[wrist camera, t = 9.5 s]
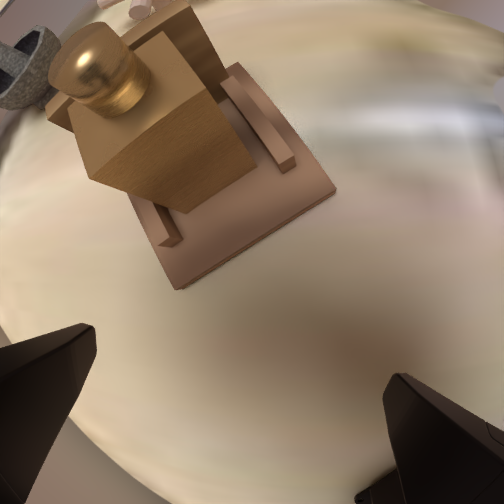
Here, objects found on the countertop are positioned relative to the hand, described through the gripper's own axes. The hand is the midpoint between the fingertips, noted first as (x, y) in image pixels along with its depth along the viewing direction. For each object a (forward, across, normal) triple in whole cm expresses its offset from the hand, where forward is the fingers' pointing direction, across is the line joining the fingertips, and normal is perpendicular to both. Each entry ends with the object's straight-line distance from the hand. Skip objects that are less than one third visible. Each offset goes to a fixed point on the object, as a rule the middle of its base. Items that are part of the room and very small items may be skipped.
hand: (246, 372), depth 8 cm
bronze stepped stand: (+14, +4, -5) cm, 16 cm away
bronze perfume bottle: (+13, +4, -5) cm, 15 cm away
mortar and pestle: (+23, +26, -13) cm, 37 cm away
